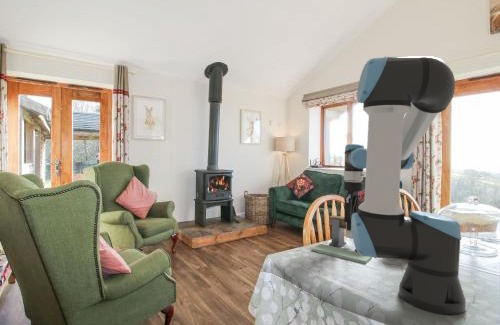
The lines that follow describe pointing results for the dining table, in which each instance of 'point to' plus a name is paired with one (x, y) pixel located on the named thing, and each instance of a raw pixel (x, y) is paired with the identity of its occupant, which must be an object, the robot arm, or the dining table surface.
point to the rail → (342, 223)
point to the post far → (337, 234)
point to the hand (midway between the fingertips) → (351, 236)
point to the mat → (341, 253)
